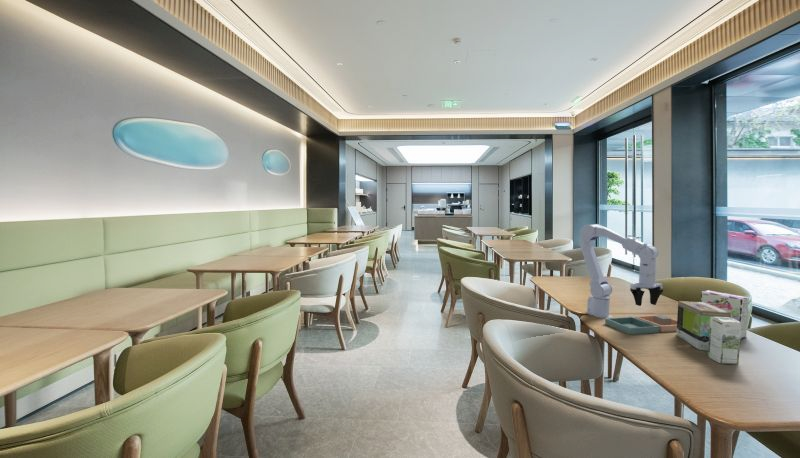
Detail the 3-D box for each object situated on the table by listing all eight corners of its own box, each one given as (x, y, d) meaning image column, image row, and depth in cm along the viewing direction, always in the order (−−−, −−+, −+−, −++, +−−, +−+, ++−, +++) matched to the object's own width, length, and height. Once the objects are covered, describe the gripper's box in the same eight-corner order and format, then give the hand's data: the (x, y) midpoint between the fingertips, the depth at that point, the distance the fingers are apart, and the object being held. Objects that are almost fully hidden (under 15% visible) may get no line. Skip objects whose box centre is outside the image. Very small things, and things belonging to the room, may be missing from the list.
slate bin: (605, 325, 159) (605, 318, 158) (631, 323, 161) (632, 316, 161) (630, 335, 145) (630, 328, 145) (658, 333, 148) (659, 326, 148)
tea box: (730, 352, 128) (732, 312, 128) (698, 350, 130) (699, 310, 130) (703, 337, 143) (705, 301, 142) (675, 336, 145) (676, 300, 144)
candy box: (698, 329, 153) (700, 291, 152) (705, 327, 156) (707, 289, 155) (739, 339, 141) (741, 298, 140) (747, 337, 143) (749, 296, 142)
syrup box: (725, 357, 124) (727, 316, 123) (739, 365, 118) (741, 321, 118) (707, 356, 125) (709, 315, 124) (720, 364, 119) (723, 321, 118)
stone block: (652, 324, 158) (653, 315, 157) (660, 323, 158) (660, 314, 158) (663, 328, 153) (663, 318, 152) (671, 327, 153) (671, 318, 153)
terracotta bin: (634, 323, 161) (634, 316, 161) (660, 321, 164) (660, 314, 164) (661, 333, 148) (661, 326, 148) (689, 331, 150) (689, 324, 150)
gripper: (640, 276, 150) (639, 308, 151) (669, 275, 153) (668, 306, 154) (627, 273, 157) (625, 303, 158) (655, 272, 160) (653, 302, 161)
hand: (645, 304), depth 157 cm, fingers open, 7 cm apart
